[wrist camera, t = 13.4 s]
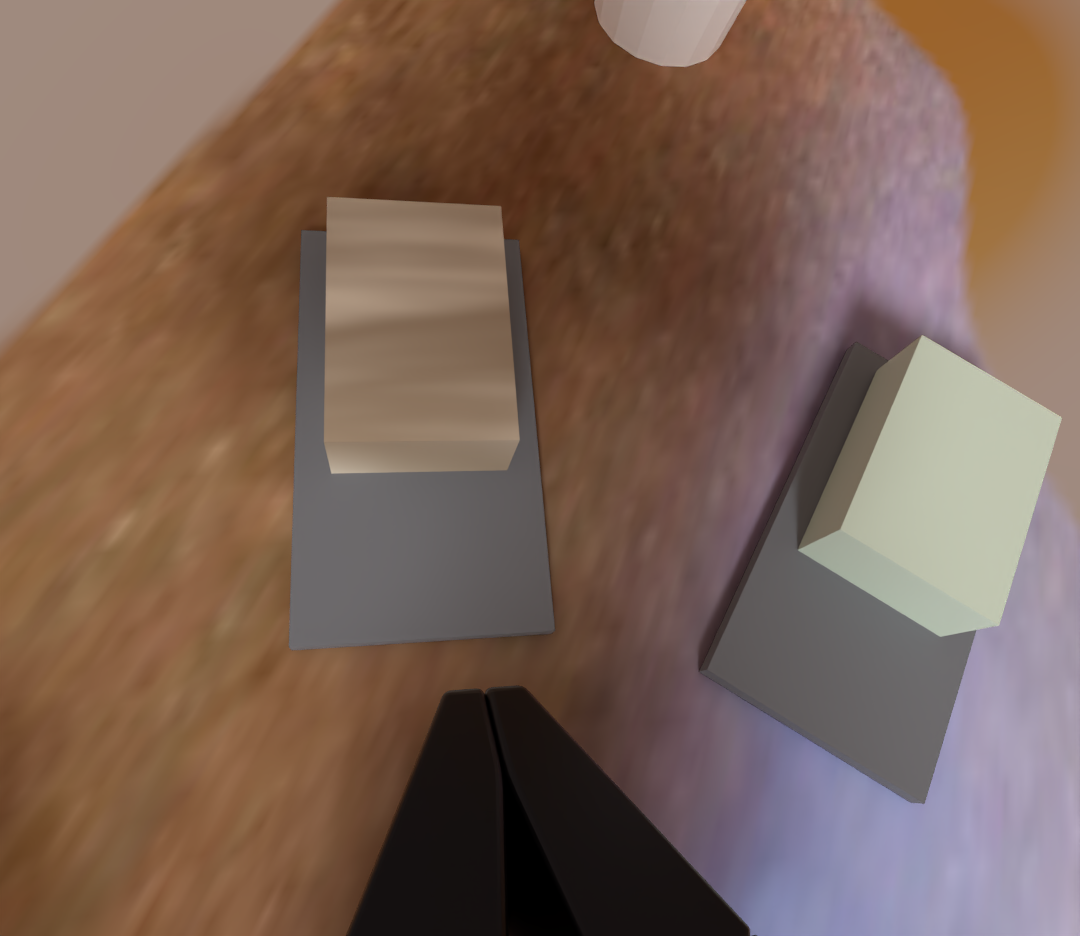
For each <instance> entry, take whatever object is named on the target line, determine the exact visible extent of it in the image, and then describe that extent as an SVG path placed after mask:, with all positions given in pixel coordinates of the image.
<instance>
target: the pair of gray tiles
mask: <svg viewBox="0 0 1080 936" xmlns="http://www.w3.org/2000/svg"><path fill="white" fill-rule="evenodd" d="M326 242H327V231H307V230H301V262H300V295H299V328H298V362H297V395H296V428H295V462H294V495H293V528H292V562H291V595H290V628H289V648H290V649H291V650H304V649H320V648H336V647H352V646H367V645H383V644H399V643H415V642H431V641H446V640H462V639H478V638H494V637H510V636H525V635H541V634H551V633H553V632H554V631H555V625H554V614H553V603H552V592H551V581H550V571H549V560H548V549H547V538H546V528H545V517H544V506H543V495H542V484H541V474H540V463H539V452H538V441H537V430H536V420H535V409H534V398H533V387H532V376H531V366H530V355H529V344H528V333H527V322H526V312H525V301H524V290H523V279H522V268H521V258H520V247H519V240H510V239H504V249H505V261H506V274H507V286H508V299H509V312H510V324H511V337H512V349H513V362H514V374H515V387H516V399H517V412H518V425H519V437H520V441H519V443H518V445H517V448H516V450H515V453H514V455H513V457H512V460H511V462H510V464H509V467H508V469H507V470H496V471H442V472H387V473H333V474H331V470H330V466H329V461H328V457H327V453H326V449H325V445H324V396H325V319H326ZM887 362H888V360H886V359H885V358H883V357H881V356H879V355H878V354H876V353H874V352H873V351H871V350H869V349H868V348H866V347H864V346H863V345H861V344H859V343H858V342H855V343H854V344H853V345H852V346H851V347H850V348H849V349H847V351H846V353H845V355H844V357H843V359H842V361H841V364H840V366H839V368H838V370H837V372H836V375H835V377H834V379H833V381H832V383H831V385H830V388H829V390H828V392H827V394H826V396H825V398H824V401H823V403H822V405H821V407H820V409H819V412H818V414H817V416H816V418H815V420H814V422H813V425H812V427H811V429H810V431H809V433H808V436H807V438H806V440H805V442H804V444H803V446H802V449H801V451H800V453H799V455H798V457H797V459H796V462H795V464H794V466H793V468H792V470H791V473H790V475H789V477H788V479H787V481H786V483H785V486H784V488H783V490H782V492H781V494H780V497H779V499H778V501H777V503H776V505H775V507H774V510H773V512H772V514H771V516H770V518H769V520H768V523H767V525H766V527H765V529H764V531H763V534H762V536H761V538H760V540H759V542H758V544H757V547H756V549H755V551H754V553H753V555H752V558H751V560H750V562H749V564H748V566H747V568H746V571H745V573H744V575H743V577H742V579H741V581H740V584H739V586H738V588H737V590H736V592H735V595H734V597H733V599H732V601H731V603H730V605H729V608H728V610H727V612H726V614H725V616H724V619H723V621H722V623H721V625H720V627H719V629H718V632H717V634H716V636H715V638H714V640H713V643H712V645H711V647H710V649H709V651H708V653H707V656H706V658H705V660H704V662H703V664H702V666H701V669H700V671H699V672H700V673H702V674H704V675H705V676H707V677H708V678H710V679H712V680H713V681H715V682H716V683H718V684H720V685H721V686H723V687H725V688H726V689H728V690H729V691H731V692H733V693H734V694H736V695H737V696H739V697H741V698H742V699H744V700H746V701H747V702H749V703H750V704H752V705H754V706H755V707H757V708H759V709H760V710H762V711H763V712H765V713H767V714H768V715H770V716H771V717H773V718H775V719H776V720H778V721H780V722H781V723H783V724H784V725H786V726H788V727H789V728H791V729H792V730H794V731H796V732H797V733H799V734H801V735H802V736H804V737H805V738H807V739H809V740H810V741H812V742H814V743H815V744H817V745H818V746H820V747H822V748H823V749H825V750H826V751H828V752H830V753H831V754H833V755H835V756H836V757H838V758H839V759H841V760H843V761H844V762H846V763H848V764H849V765H851V766H852V767H854V768H856V769H857V770H859V771H860V772H862V773H864V774H865V775H867V776H869V777H870V778H872V779H873V780H875V781H877V782H878V783H880V784H881V785H883V786H885V787H886V788H888V789H890V790H891V791H893V792H894V793H896V794H898V795H899V796H901V797H903V798H904V799H906V800H907V801H909V802H911V803H922V804H924V803H925V800H926V797H927V793H928V790H929V787H930V783H931V780H932V777H933V773H934V770H935V767H936V763H937V760H938V757H939V753H940V750H941V746H942V743H943V740H944V736H945V733H946V730H947V726H948V723H949V720H950V716H951V713H952V710H953V706H954V703H955V700H956V696H957V693H958V690H959V686H960V683H961V679H962V676H963V673H964V669H965V666H966V663H967V659H968V656H969V653H970V649H971V646H972V643H973V639H974V636H975V633H976V630H973V631H968V632H963V633H957V634H952V635H947V636H942V637H940V636H938V635H936V634H935V633H933V632H932V631H930V630H928V629H927V628H925V627H923V626H922V625H920V624H918V623H917V622H915V621H913V620H912V619H910V618H908V617H907V616H905V615H904V614H902V613H900V612H899V611H897V610H895V609H894V608H892V607H890V606H889V605H887V604H885V603H884V602H882V601H881V600H879V599H877V598H876V597H874V596H872V595H871V594H869V593H867V592H866V591H864V590H862V589H861V588H859V587H857V586H856V585H854V584H853V583H851V582H849V581H848V580H846V579H844V578H843V577H841V576H839V575H838V574H836V573H834V572H833V571H831V570H830V569H828V568H826V567H825V566H823V565H821V564H820V563H818V562H816V561H815V560H813V559H811V558H810V557H808V556H806V555H805V554H803V553H802V552H800V551H798V548H799V546H800V543H801V541H802V539H803V537H804V534H805V532H806V530H807V527H808V525H809V523H810V521H811V518H812V516H813V514H814V512H815V509H816V507H817V505H818V503H819V500H820V498H821V496H822V493H823V491H824V489H825V487H826V484H827V482H828V480H829V478H830V475H831V473H832V471H833V469H834V466H835V464H836V462H837V459H838V457H839V455H840V453H841V450H842V448H843V446H844V444H845V441H846V439H847V437H848V435H849V432H850V430H851V428H852V426H853V423H854V421H855V419H856V416H857V414H858V412H859V410H860V407H861V405H862V403H863V401H864V398H865V396H866V394H867V392H868V389H869V387H870V385H871V382H872V380H873V378H874V376H875V373H876V371H877V370H878V369H879V368H880V367H882V366H883V365H884V364H885V363H887Z"/></svg>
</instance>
